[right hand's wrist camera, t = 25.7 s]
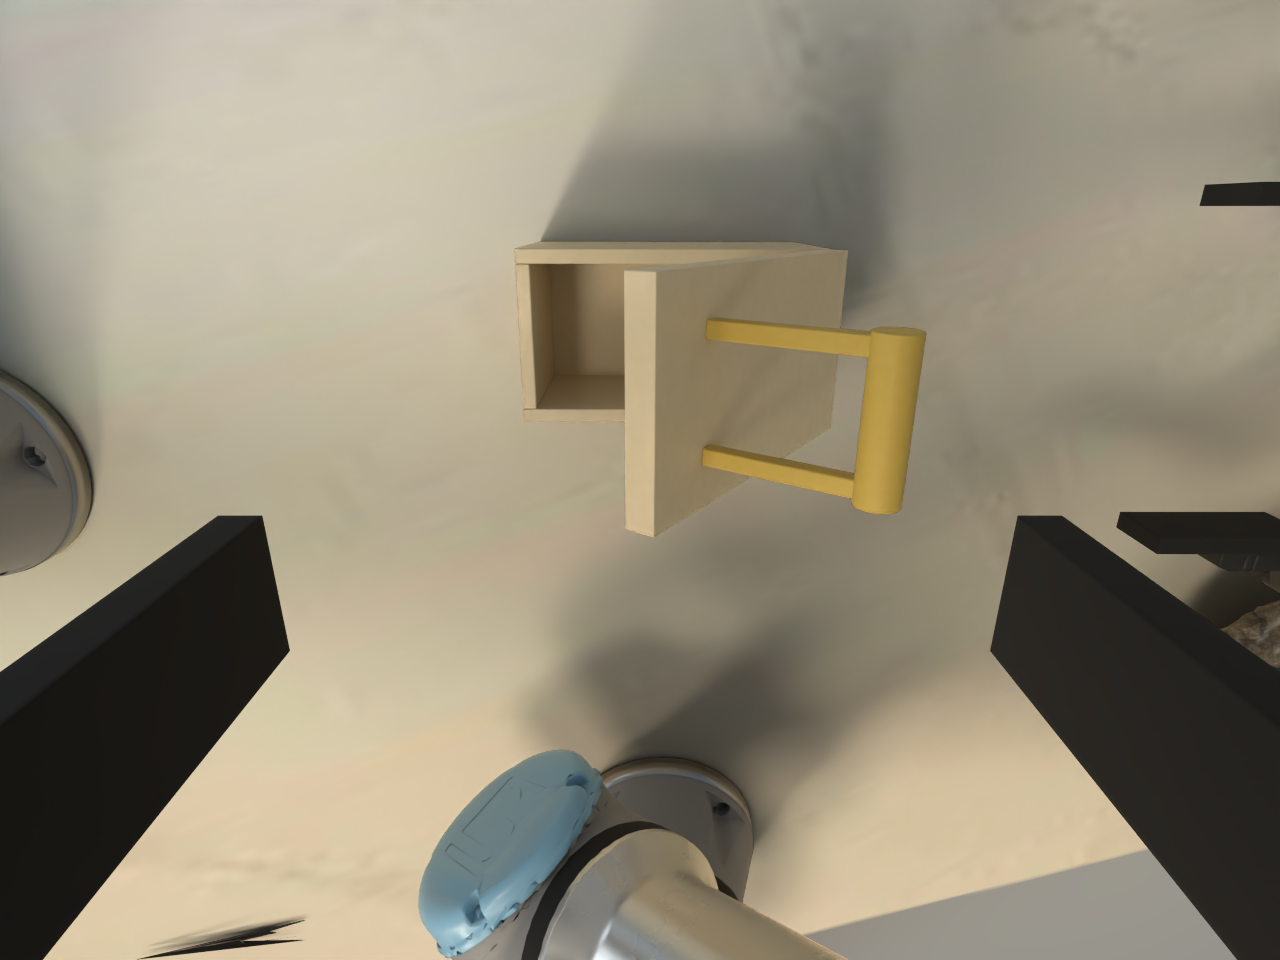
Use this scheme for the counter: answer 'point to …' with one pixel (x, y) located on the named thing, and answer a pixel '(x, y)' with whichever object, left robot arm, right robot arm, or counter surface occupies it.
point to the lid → (754, 384)
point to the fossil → (1259, 632)
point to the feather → (230, 942)
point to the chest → (592, 318)
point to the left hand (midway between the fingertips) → (1178, 377)
